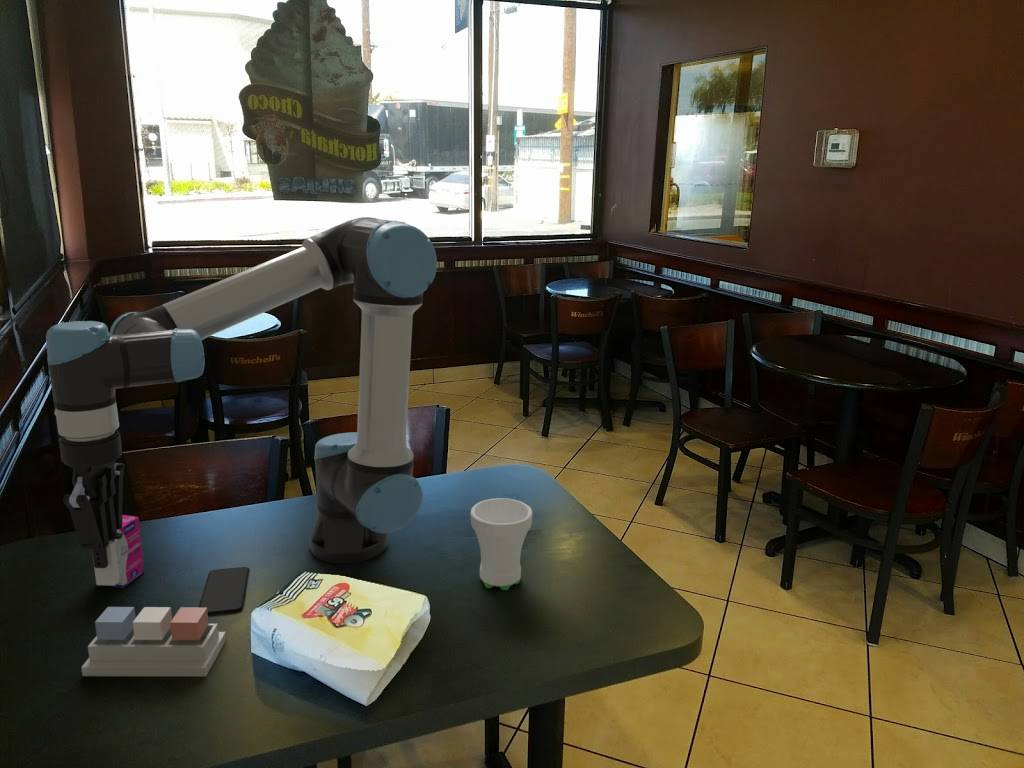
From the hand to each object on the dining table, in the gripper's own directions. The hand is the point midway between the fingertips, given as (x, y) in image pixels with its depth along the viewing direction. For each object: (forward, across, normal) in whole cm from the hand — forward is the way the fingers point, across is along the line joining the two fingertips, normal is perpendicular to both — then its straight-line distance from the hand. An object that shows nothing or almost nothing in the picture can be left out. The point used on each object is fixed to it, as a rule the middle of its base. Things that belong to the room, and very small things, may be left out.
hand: (108, 582), depth 113 cm
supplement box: (+13, -23, -10) cm, 29 cm away
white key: (+9, 0, +6) cm, 10 cm away
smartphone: (+13, -19, +10) cm, 25 cm away
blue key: (+9, 0, 0) cm, 9 cm away
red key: (+8, 0, +11) cm, 14 cm away
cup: (+13, -23, +59) cm, 65 cm away
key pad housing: (+13, 0, +6) cm, 14 cm away
